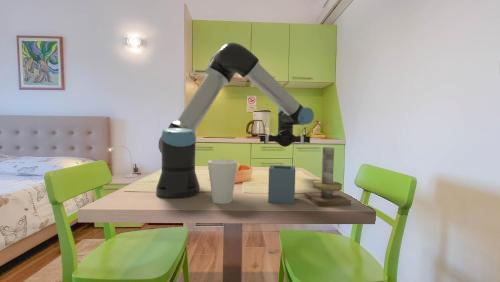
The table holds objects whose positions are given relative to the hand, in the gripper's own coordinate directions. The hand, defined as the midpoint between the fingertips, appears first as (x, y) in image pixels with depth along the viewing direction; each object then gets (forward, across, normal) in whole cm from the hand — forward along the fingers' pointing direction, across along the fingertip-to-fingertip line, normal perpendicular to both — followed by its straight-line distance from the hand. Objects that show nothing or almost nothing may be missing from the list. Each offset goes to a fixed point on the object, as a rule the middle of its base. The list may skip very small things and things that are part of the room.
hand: (284, 139), depth 90 cm
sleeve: (+10, 0, -20) cm, 22 cm away
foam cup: (+16, +20, -20) cm, 32 cm away
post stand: (+8, -15, -20) cm, 26 cm away
